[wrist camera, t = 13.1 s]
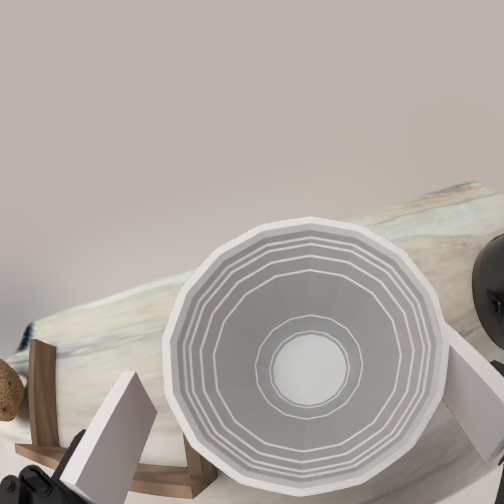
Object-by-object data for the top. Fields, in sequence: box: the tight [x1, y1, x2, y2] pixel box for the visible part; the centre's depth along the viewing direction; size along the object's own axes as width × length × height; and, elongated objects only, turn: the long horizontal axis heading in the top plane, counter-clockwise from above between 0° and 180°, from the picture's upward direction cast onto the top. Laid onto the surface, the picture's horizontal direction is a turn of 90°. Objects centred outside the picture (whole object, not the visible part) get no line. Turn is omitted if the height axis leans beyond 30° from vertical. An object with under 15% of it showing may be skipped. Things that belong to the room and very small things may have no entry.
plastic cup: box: [162, 216, 450, 497], centre depth 14 cm, size 11×11×12 cm
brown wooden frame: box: [15, 339, 217, 499], centre depth 22 cm, size 22×15×7 cm
